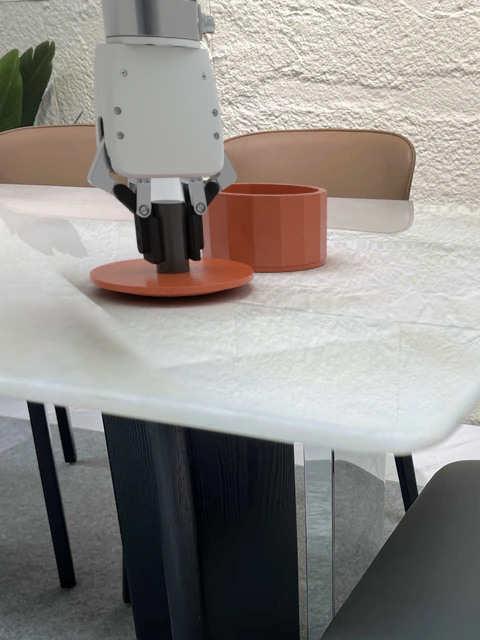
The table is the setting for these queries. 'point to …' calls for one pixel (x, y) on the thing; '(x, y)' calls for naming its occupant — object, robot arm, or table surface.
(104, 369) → the table surface
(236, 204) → the pot
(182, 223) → the lid
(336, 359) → the table surface
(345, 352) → the table surface
